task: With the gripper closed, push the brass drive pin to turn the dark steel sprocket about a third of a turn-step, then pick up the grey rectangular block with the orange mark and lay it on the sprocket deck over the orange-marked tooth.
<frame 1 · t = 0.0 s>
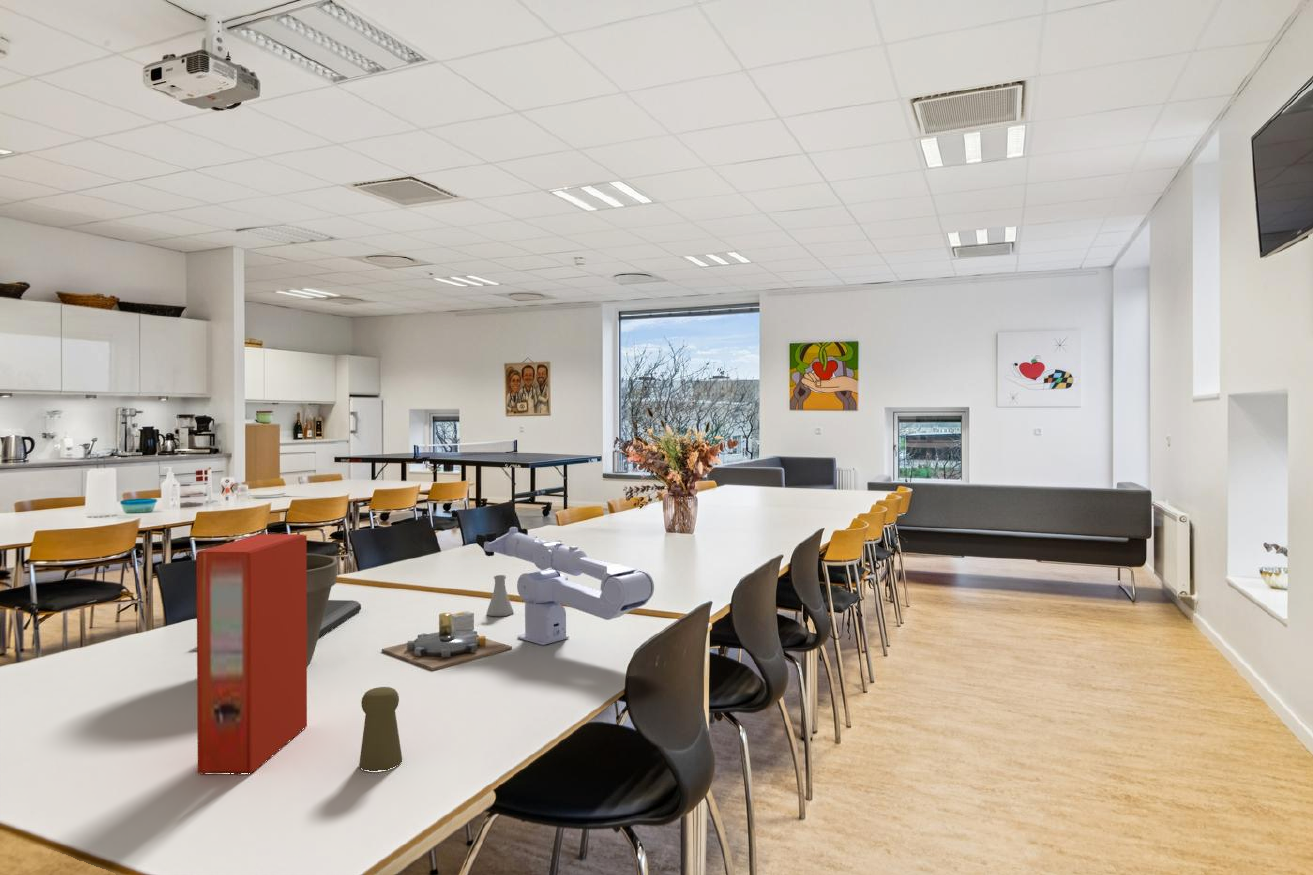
hand: (490, 537, 194), 22 cm above the table, tool horizontal, fingers open, 7 cm apart
closed laptop: (287, 631, 192), on the table
flask: (500, 614, 205), on the table
sprocket: (446, 632, 172), point 4 cm above the table, hinge at 0.0°
plant pot: (274, 667, 161), on the table
file binder: (257, 750, 120), on the table
olive pawn: (380, 764, 115), on the table
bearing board: (447, 650, 172), on the table
grey rectangular block: (461, 630, 189), on the table
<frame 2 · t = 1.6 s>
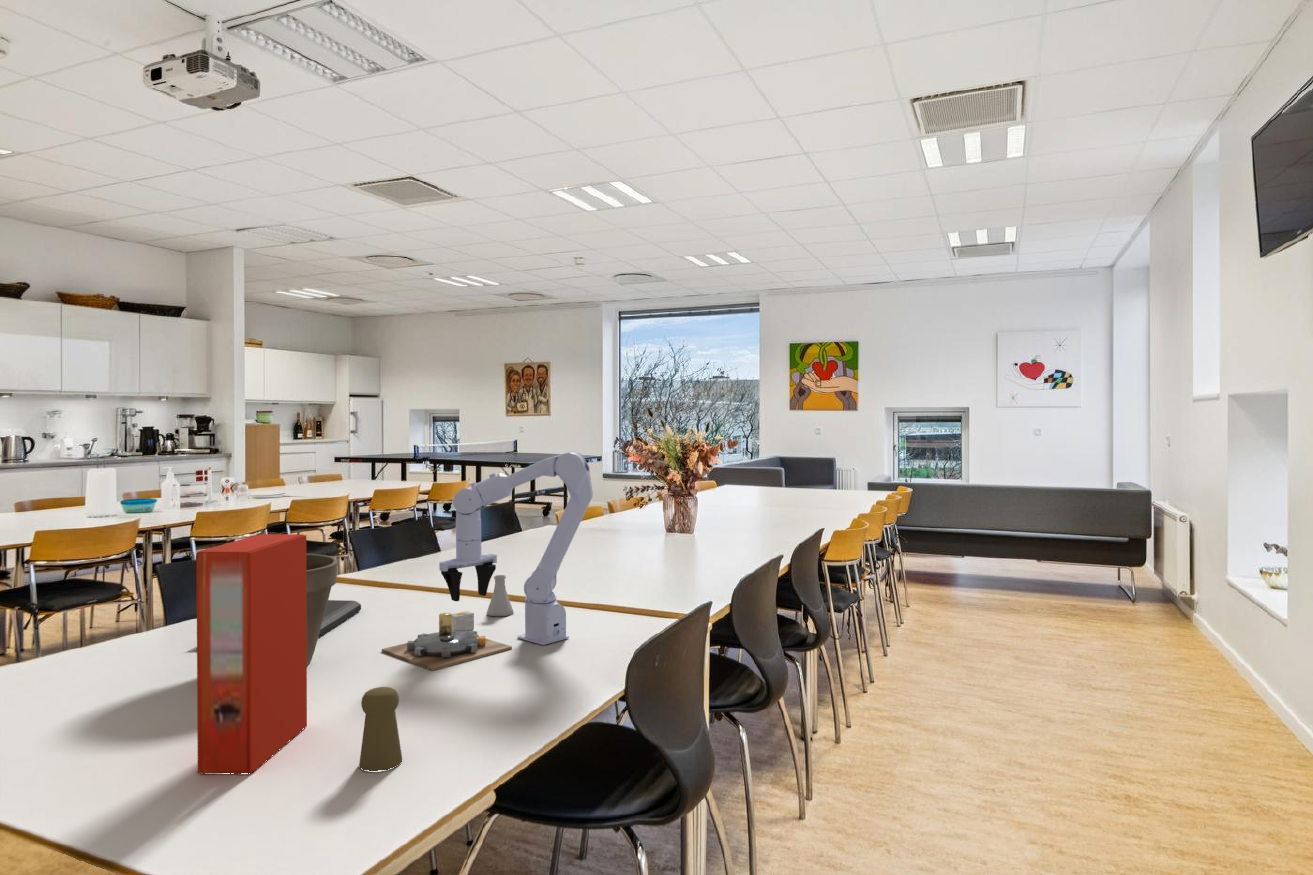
hand: (469, 597, 182), 9 cm above the table, tool pointing down, fingers open, 7 cm apart
nothing on the table moved.
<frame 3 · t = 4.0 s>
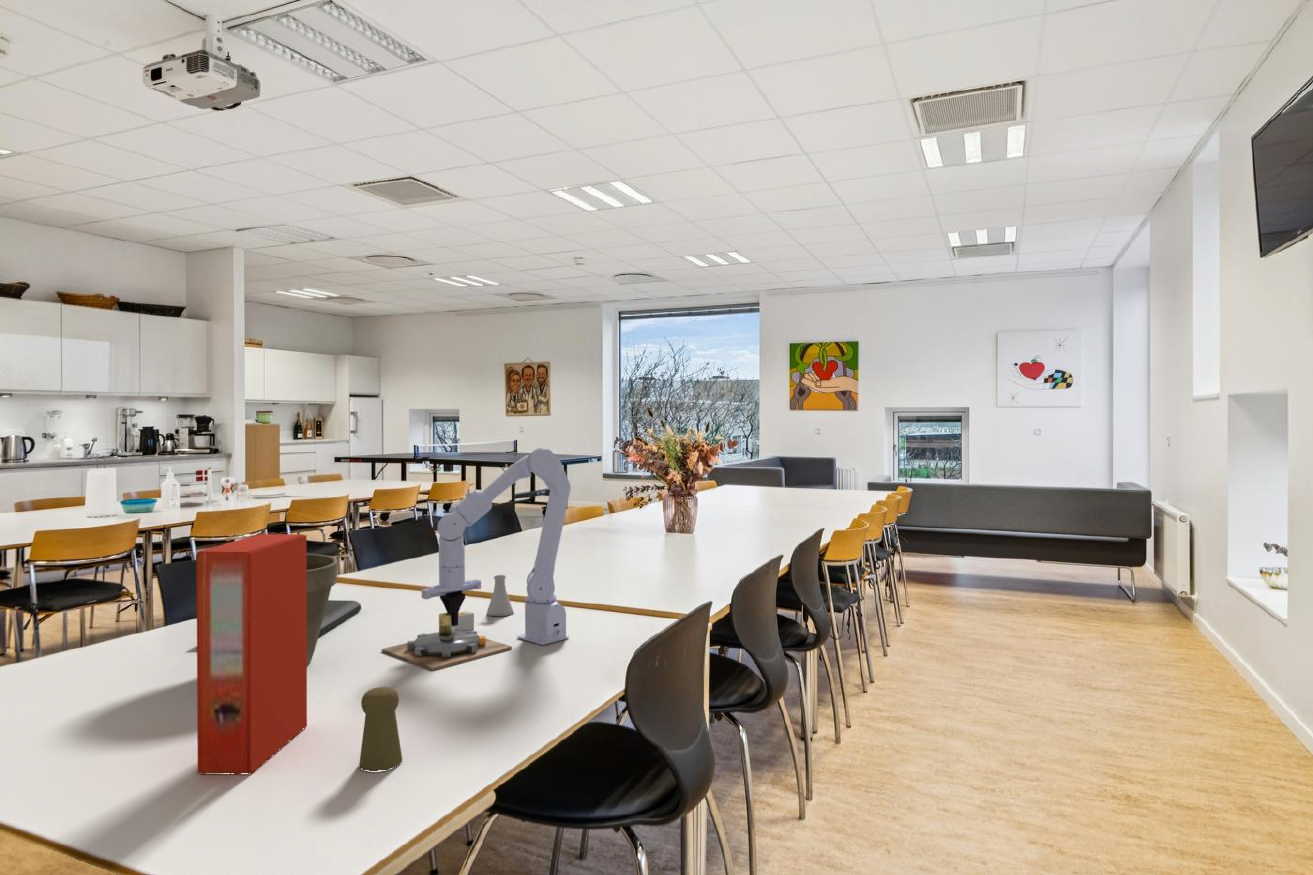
hand: (452, 625, 179), 4 cm above the table, tool pointing down, fingers closed, pressing on sprocket
sprocket: (446, 632, 172), point 4 cm above the table, hinge at 0.6°, touching gripper
everything else where it was.
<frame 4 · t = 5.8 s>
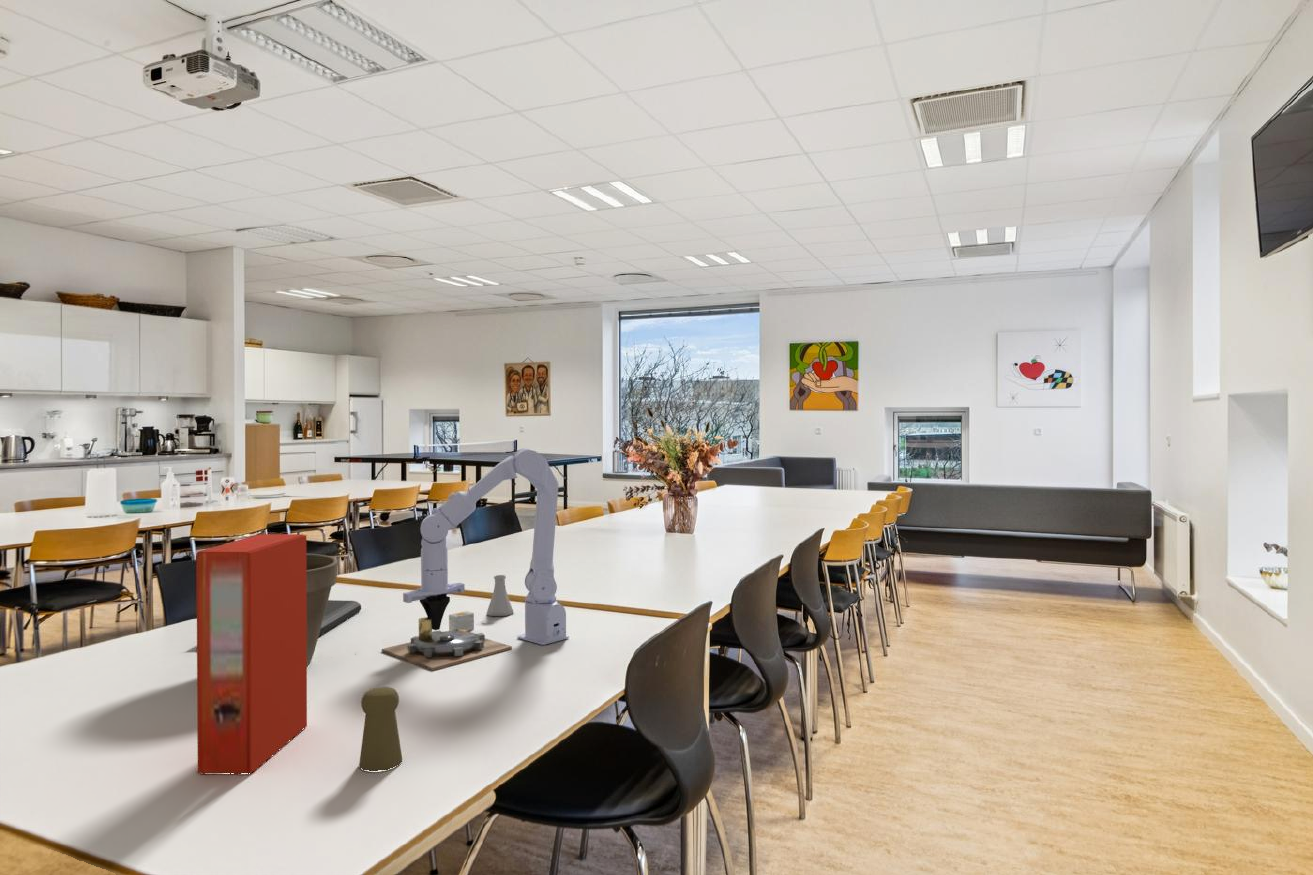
hand: (435, 629, 175), 4 cm above the table, tool pointing down, fingers closed
sprocket: (446, 632, 172), point 4 cm above the table, hinge at 63.6°, touching gripper
everything else where it was.
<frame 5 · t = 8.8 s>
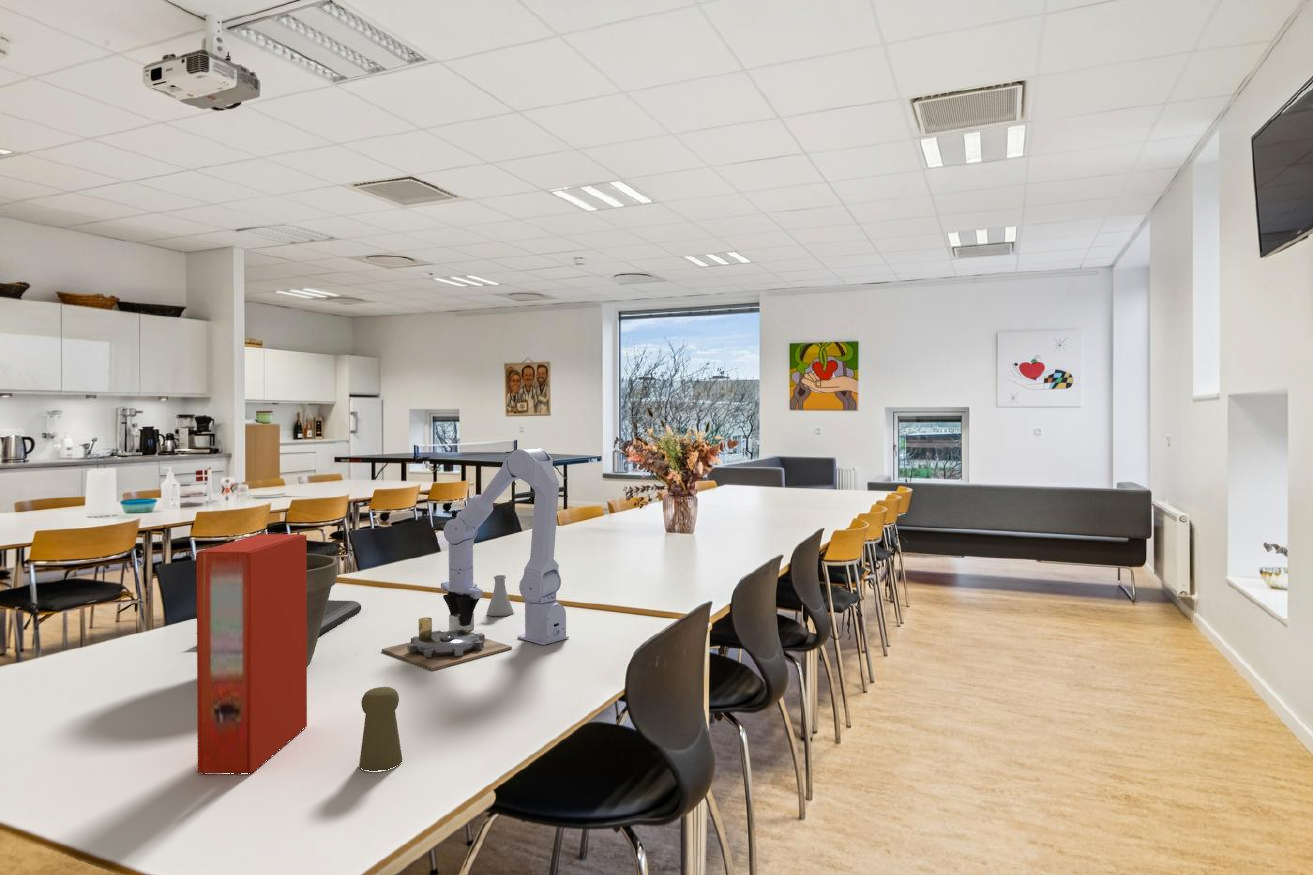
hand: (461, 624, 189), 1 cm above the table, tool pointing down, fingers closed on grey rectangular block, 3 cm apart
sprocket: (446, 632, 172), point 4 cm above the table, hinge at 63.7°
grey rectangular block: (461, 630, 189), on the table, touching gripper
everything else where it was.
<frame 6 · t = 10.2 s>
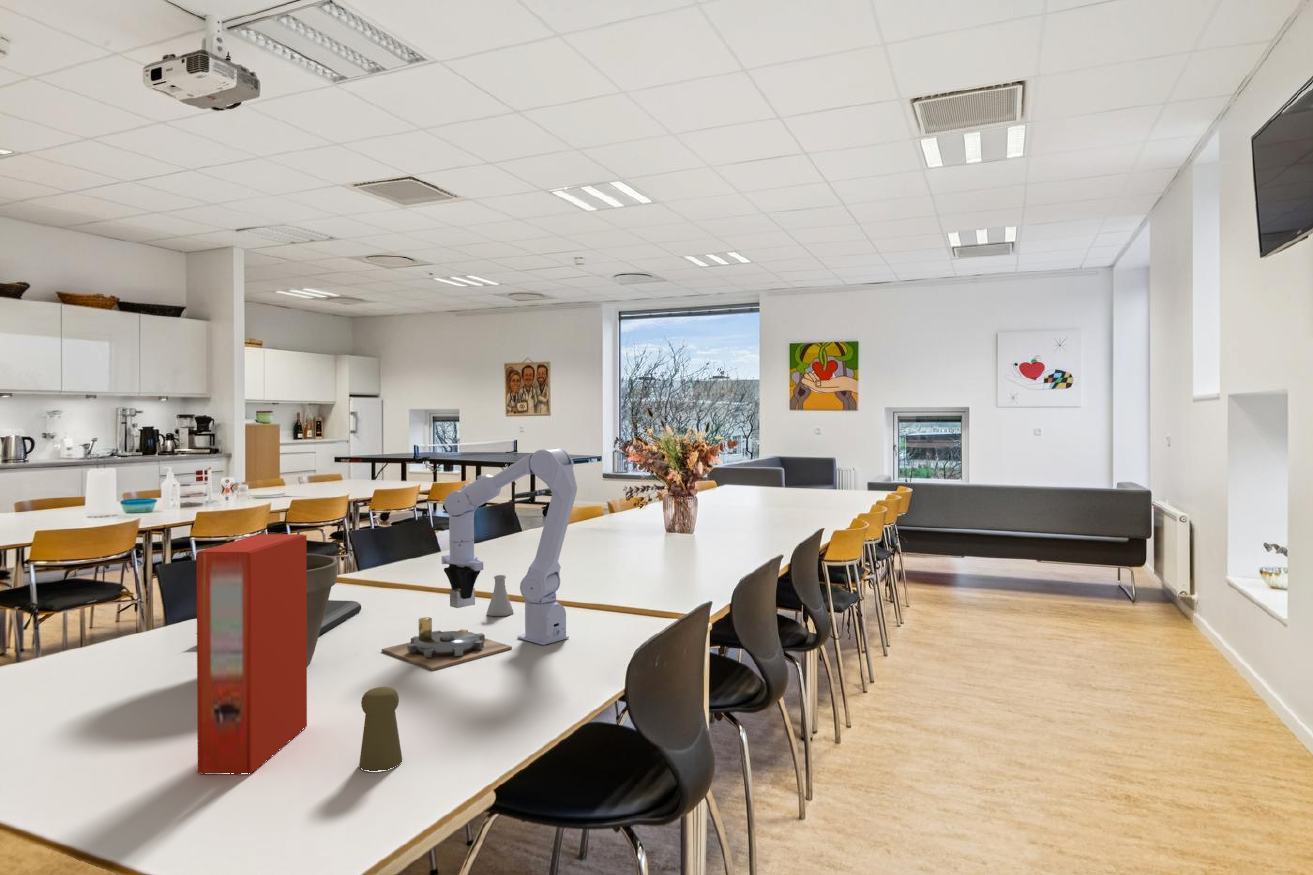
hand: (462, 597, 187), 8 cm above the table, tool pointing down, fingers closed on grey rectangular block, 3 cm apart
grey rectangular block: (462, 605, 187), point 6 cm above the table, touching gripper
everything else where it was.
when the fingers open (5 cm above the table, at t = 11.7 s): grey rectangular block stays where it is, resting on sprocket.
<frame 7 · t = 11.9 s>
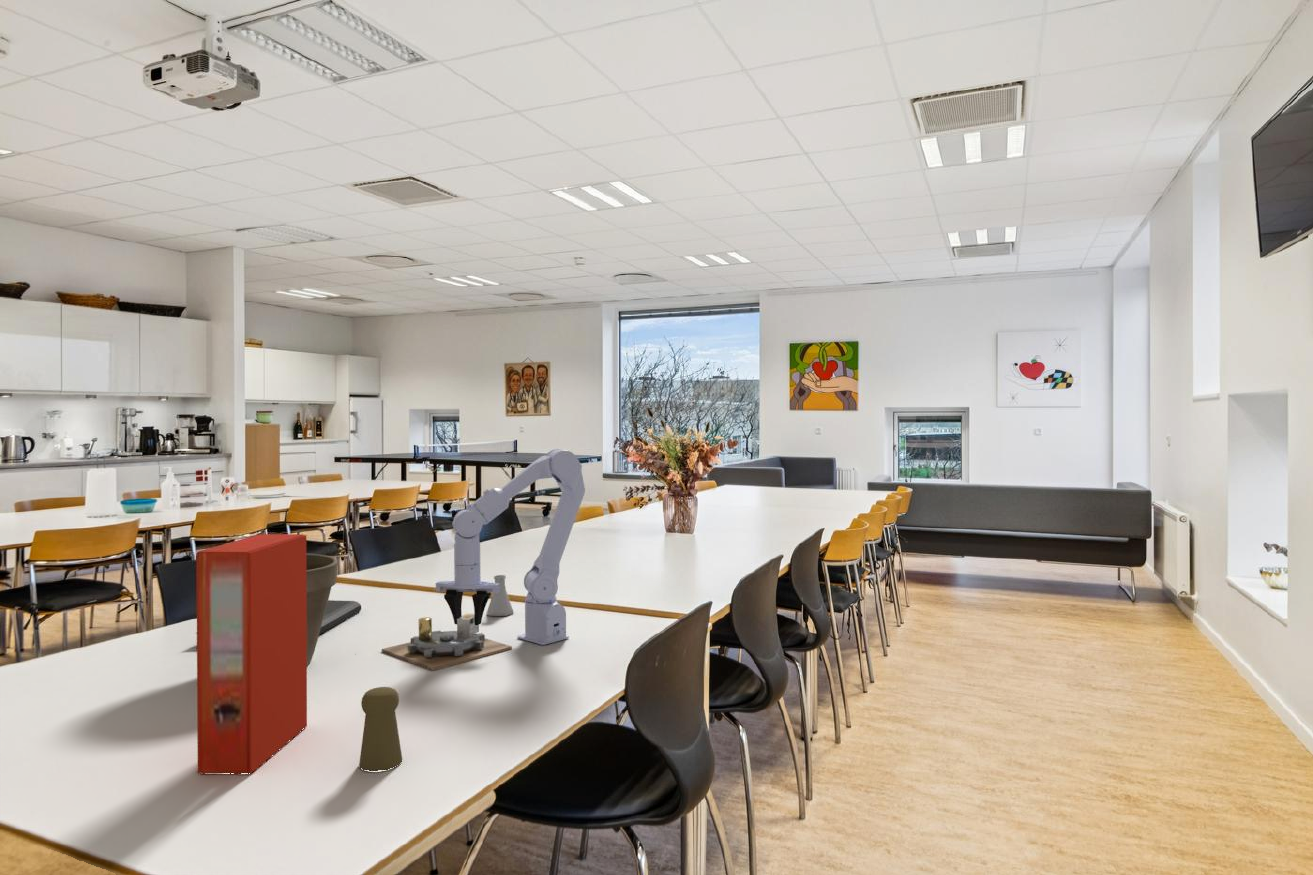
hand: (467, 623, 176), 5 cm above the table, tool pointing down, fingers open, 4 cm apart
sprocket: (446, 632, 172), point 4 cm above the table, hinge at 63.7°, touching grey rectangular block
grey rectangular block: (468, 634, 177), point 2 cm above the table, touching sprocket
everything else where it was.
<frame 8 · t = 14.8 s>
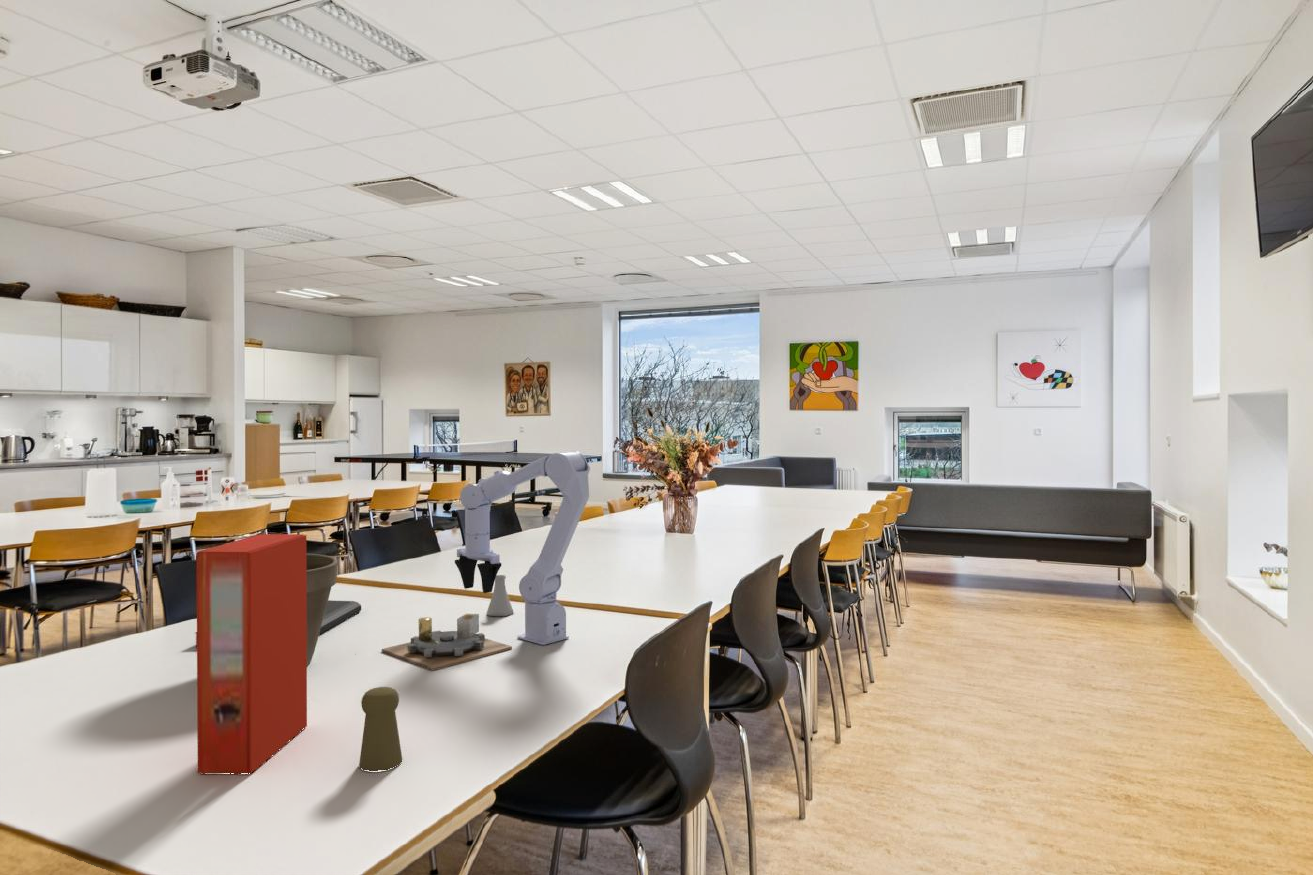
hand: (478, 590, 188), 10 cm above the table, tool pointing down, fingers open, 7 cm apart
nothing on the table moved.
at the end: sprocket at +64° (first picture: +0°); grey rectangular block 5.7 cm from the sprocket (horizontally); grey rectangular block point 2.4 cm above the table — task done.
